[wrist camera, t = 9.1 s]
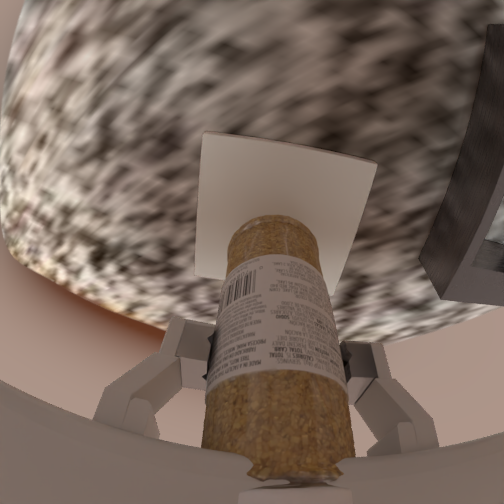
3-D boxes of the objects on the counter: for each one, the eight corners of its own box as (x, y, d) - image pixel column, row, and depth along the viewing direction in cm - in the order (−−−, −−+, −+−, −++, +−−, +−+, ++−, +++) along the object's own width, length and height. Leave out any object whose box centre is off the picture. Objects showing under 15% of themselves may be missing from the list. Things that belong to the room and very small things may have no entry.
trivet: (205, 131, 15) (202, 133, 15) (374, 161, 15) (377, 164, 15) (196, 269, 20) (194, 275, 20) (331, 289, 20) (333, 295, 20)
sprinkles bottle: (262, 298, 17) (255, 560, 6) (208, 241, 15) (142, 550, 4) (335, 259, 16) (393, 547, 5) (286, 191, 14) (323, 570, 3)
